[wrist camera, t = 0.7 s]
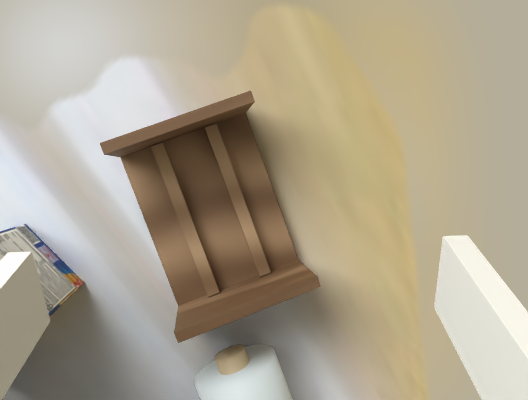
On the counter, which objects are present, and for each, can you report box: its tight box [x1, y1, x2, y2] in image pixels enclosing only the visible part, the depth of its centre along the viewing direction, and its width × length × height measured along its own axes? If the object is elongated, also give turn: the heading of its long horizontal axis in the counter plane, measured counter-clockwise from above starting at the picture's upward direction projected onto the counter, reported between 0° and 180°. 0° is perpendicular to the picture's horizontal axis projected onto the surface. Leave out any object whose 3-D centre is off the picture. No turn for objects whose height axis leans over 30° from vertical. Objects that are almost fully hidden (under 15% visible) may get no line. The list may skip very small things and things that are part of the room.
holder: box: [100, 91, 320, 343], centre depth 39 cm, size 15×11×8 cm
